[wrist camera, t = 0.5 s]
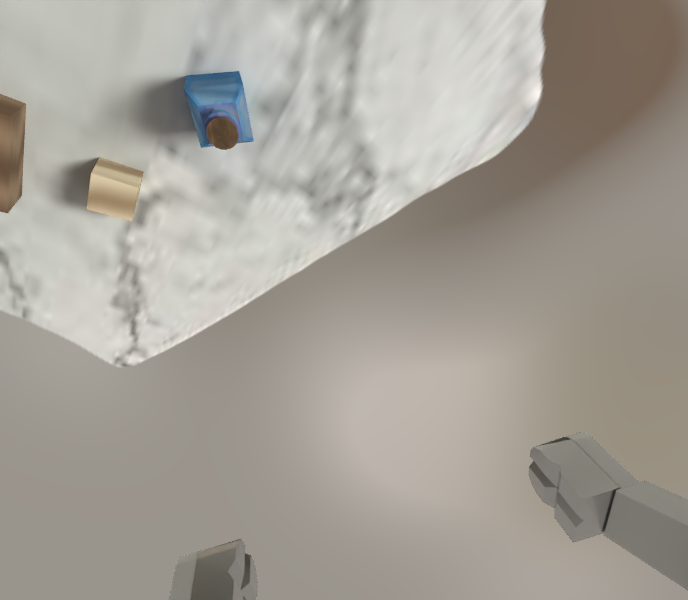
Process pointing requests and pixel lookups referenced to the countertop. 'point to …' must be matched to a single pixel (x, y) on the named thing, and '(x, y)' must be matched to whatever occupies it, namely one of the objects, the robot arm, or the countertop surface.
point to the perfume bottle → (218, 109)
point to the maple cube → (114, 189)
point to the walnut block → (11, 151)
